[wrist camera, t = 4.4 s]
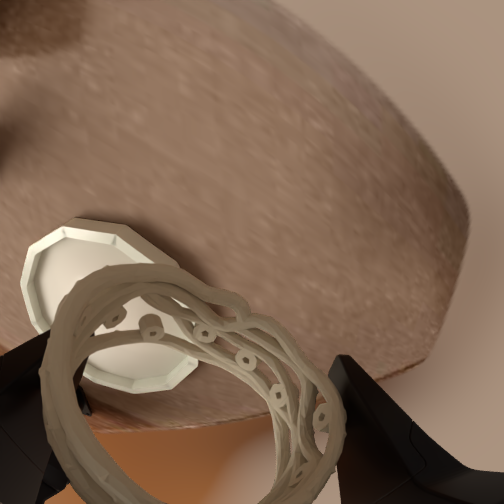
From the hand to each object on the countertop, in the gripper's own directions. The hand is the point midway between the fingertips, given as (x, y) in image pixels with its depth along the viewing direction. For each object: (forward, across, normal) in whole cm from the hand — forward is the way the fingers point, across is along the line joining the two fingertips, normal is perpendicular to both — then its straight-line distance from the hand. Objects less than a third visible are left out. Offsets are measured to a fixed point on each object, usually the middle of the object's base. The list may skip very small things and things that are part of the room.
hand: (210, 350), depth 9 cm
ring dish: (+12, +10, +10) cm, 18 cm away
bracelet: (+2, 0, 0) cm, 2 cm away
